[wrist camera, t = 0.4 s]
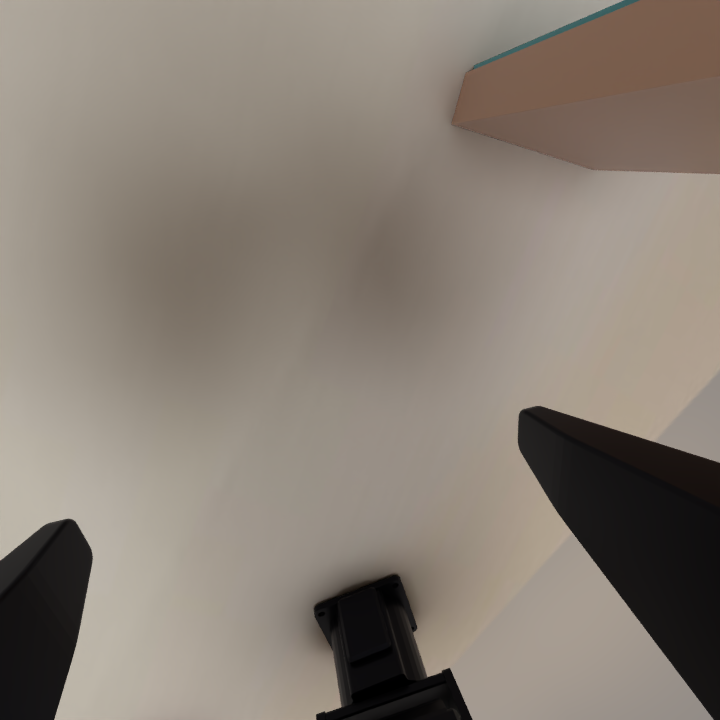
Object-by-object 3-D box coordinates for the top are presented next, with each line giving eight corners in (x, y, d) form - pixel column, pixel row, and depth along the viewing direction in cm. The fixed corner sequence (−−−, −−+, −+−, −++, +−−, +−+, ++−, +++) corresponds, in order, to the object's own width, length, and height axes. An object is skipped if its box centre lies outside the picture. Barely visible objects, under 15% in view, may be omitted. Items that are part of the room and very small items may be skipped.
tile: (594, 170, 21) (1057, 184, 9) (451, 124, 19) (810, 59, 7) (614, 119, 21) (1158, 57, 8) (468, 64, 18) (914, -136, 6)
